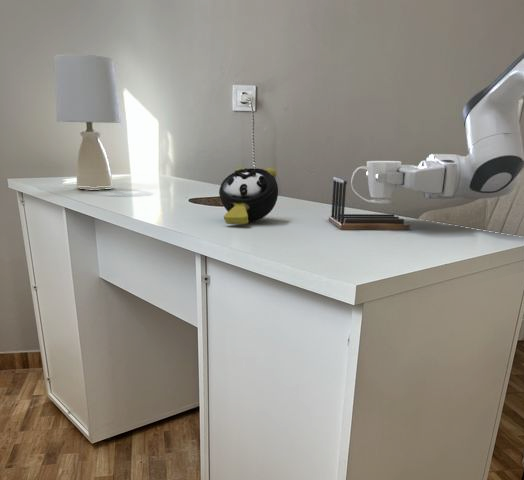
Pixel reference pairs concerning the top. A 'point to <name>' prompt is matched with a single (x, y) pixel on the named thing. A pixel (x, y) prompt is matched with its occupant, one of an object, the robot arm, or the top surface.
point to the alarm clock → (248, 194)
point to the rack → (360, 215)
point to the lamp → (87, 110)
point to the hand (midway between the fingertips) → (371, 176)
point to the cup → (375, 187)
